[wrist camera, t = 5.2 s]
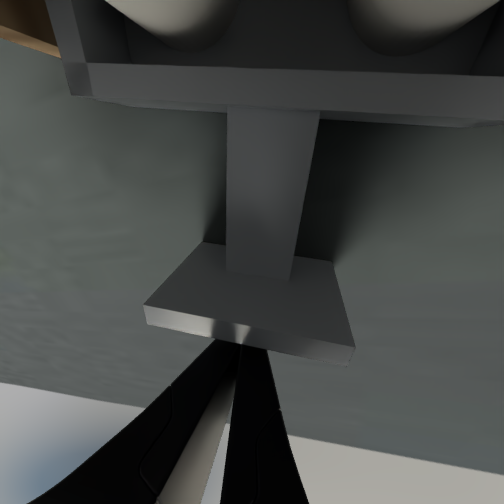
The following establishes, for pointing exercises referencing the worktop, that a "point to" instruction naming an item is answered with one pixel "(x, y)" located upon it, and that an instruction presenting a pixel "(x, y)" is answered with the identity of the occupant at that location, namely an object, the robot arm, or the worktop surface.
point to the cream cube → (410, 22)
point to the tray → (275, 143)
